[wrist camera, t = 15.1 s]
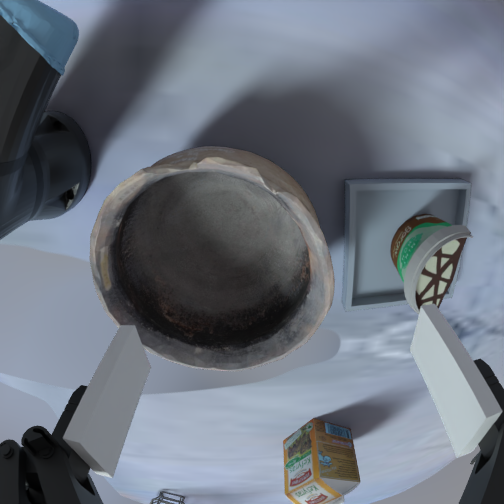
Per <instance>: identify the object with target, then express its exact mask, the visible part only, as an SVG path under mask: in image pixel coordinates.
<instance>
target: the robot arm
mask: <svg viewBox="0 0 504 504" xmlns="http://www.w3.org/2000/svg"><path fill="white" fill-rule="evenodd" d="M78 37H79V30H78V27H77V25H76V23H75V22H74V21H73V20H71V19H70V18H68V17H67V16H65V15H63V14H62V13H60V12H58V11H57V10H55V9H53V8H51V7H49V6H48V5H46V4H44V3H42V2H40V1H38V0H0V240H1V239H2V238H4V237H5V236H7V235H8V234H9V233H11V232H12V231H14V230H15V229H17V228H18V227H20V226H21V225H23V224H24V223H26V222H28V221H32V220H43V219H52V218H56V217H59V216H61V215H63V214H64V213H66V212H67V211H69V210H71V209H72V208H73V207H75V206H76V205H77V204H78V202H79V201H80V200H81V199H82V197H83V195H84V193H85V191H86V189H87V186H88V183H89V179H90V173H91V157H90V151H89V146H88V143H87V140H86V138H85V136H84V134H83V132H82V130H81V129H80V127H79V126H78V125H77V123H76V122H75V121H74V120H73V119H71V118H70V117H69V116H67V115H65V114H63V113H60V112H56V111H47V112H44V111H45V109H46V107H47V104H48V102H49V100H50V98H51V95H52V93H53V91H54V89H55V87H56V85H57V83H58V81H59V79H60V77H61V75H63V74H64V72H65V69H64V68H65V65H66V63H67V61H68V59H69V57H70V55H71V53H72V51H73V49H74V47H75V45H76V43H77V41H78ZM410 351H411V353H412V355H413V357H414V360H415V362H416V364H417V366H418V368H419V370H420V372H421V374H422V376H423V379H424V381H425V383H426V385H427V387H428V390H429V392H430V394H431V396H432V399H433V401H434V403H435V405H436V408H437V410H438V412H439V415H440V417H441V420H442V422H443V424H444V427H445V429H446V432H447V434H448V437H449V439H450V442H451V445H452V447H453V450H454V452H455V455H456V458H458V457H461V456H463V455H466V454H469V453H471V452H473V450H474V449H475V448H476V447H477V445H479V447H480V449H481V450H480V452H479V453H478V454H477V455H476V456H475V457H474V459H473V460H472V461H471V463H470V464H473V463H474V462H475V461H476V462H475V465H474V468H473V470H472V473H471V475H470V478H469V480H468V483H467V485H466V488H465V490H464V493H463V495H462V497H461V499H460V502H459V504H504V389H503V387H502V386H501V384H500V383H499V381H498V379H497V377H496V376H495V374H494V373H493V371H492V369H491V368H490V366H489V365H488V364H486V363H485V362H484V361H483V360H481V359H478V360H474V361H473V360H472V358H471V357H470V355H469V353H468V352H467V350H466V349H465V347H464V346H463V344H462V343H461V341H460V340H459V338H458V337H457V335H456V334H455V332H454V331H453V329H452V328H451V326H450V325H449V323H448V322H447V320H446V319H445V318H444V316H443V315H442V313H441V312H440V310H439V309H438V308H437V306H436V305H435V304H429V305H423V306H421V308H420V312H419V317H418V321H417V325H416V329H415V333H414V337H413V341H412V344H411V348H410ZM150 369H151V365H150V363H149V361H148V358H147V356H146V353H145V351H144V348H143V345H142V343H141V340H140V337H139V335H138V332H137V329H136V327H135V325H121V326H120V328H119V329H118V331H117V333H116V335H115V337H114V338H113V340H112V342H111V344H110V346H109V347H108V349H107V351H106V353H105V355H104V357H103V359H102V360H101V362H100V364H99V366H98V368H97V370H96V372H95V374H94V375H93V377H92V380H91V381H90V383H89V385H88V386H83V385H81V386H80V387H79V388H78V389H77V390H76V391H75V392H73V394H72V396H71V398H70V400H69V401H68V404H67V405H66V407H65V409H64V410H65V411H63V413H62V415H61V417H60V419H59V421H58V423H57V425H56V427H55V429H54V431H53V433H52V435H51V434H50V433H49V432H48V431H47V429H45V428H44V427H42V426H34V427H31V428H29V429H28V430H27V431H26V432H25V433H24V434H23V437H22V445H23V446H24V447H20V446H19V445H18V443H17V442H15V441H14V440H5V441H3V442H2V443H1V444H0V504H103V502H102V500H101V498H100V496H99V494H98V492H97V490H96V487H95V485H94V483H93V481H92V479H91V477H90V475H89V474H88V473H89V470H90V468H91V469H92V470H93V471H94V472H95V473H96V474H98V475H102V476H106V477H110V478H113V476H114V473H115V470H116V467H117V463H118V460H119V457H120V454H121V451H122V448H123V445H124V442H125V439H126V436H127V433H128V430H129V427H130V425H131V422H132V419H133V416H134V413H135V410H136V407H137V405H138V402H139V399H140V396H141V394H142V391H143V388H144V385H145V383H146V380H147V377H148V374H149V372H150Z"/></svg>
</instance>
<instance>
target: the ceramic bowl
mask: <svg viewBox="0 0 504 504" xmlns="http://www.w3.org/2000/svg"><path fill="white" fill-rule="evenodd" d="M90 264H91V269H92V274H93V282H94V285H95V289H96V292H97V295H98V297H99V299H100V301H101V304H102V306H103V308H104V310H105V312H106V313H107V315H108V316H109V317H110V318H111V319H112V320H113V322H114V323H115V324H116V325H117V326H118V328H120V326H121V325H135V327H136V329H137V332H138V335H139V337H140V340H141V343H142V345H143V348H144V349H145V350H147V351H149V352H150V353H152V354H154V355H157V356H159V357H161V358H164V359H165V360H168V361H171V362H174V363H176V364H180V365H183V366H187V367H191V368H198V369H207V370H208V369H209V370H219V371H241V370H247V369H252V368H256V367H260V366H263V365H265V364H268V363H271V362H274V361H277V360H280V359H283V358H284V357H286V356H287V355H288V354H290V353H291V352H292V351H294V350H296V349H298V348H299V347H301V346H302V345H304V344H305V343H307V342H308V340H309V339H310V338H311V337H312V335H313V334H314V333H315V332H316V330H317V329H318V327H319V326H320V324H321V323H322V321H323V319H324V318H325V316H326V314H327V313H328V311H329V310H330V307H331V305H332V301H333V296H334V272H333V266H332V261H331V256H330V253H329V249H328V246H327V243H326V240H325V237H324V235H323V232H322V231H321V229H320V225H319V221H318V218H317V215H316V212H315V210H314V207H313V205H312V203H311V201H310V200H309V198H308V196H307V195H306V193H305V192H304V190H303V189H302V187H301V186H300V185H299V184H298V183H297V182H296V181H295V180H294V179H293V178H292V177H291V176H290V175H289V174H288V173H287V172H285V171H284V170H283V169H282V168H280V167H279V166H277V165H276V164H274V163H273V162H271V161H270V160H268V159H265V158H263V157H261V156H259V155H256V154H254V153H251V152H249V151H244V150H239V149H234V148H228V147H216V146H202V147H197V148H192V149H187V150H184V151H181V152H177V153H174V154H172V155H169V156H167V157H165V158H163V159H161V160H159V161H157V162H156V163H154V164H153V165H152V166H151V167H147V168H144V169H141V170H140V171H138V172H137V173H135V174H134V175H132V176H131V177H130V178H128V179H127V180H125V181H123V182H122V183H120V184H119V185H118V186H117V187H116V188H115V189H114V190H113V191H112V192H111V194H110V195H109V196H108V197H107V198H106V199H105V201H104V203H103V205H102V207H101V209H100V211H99V214H98V217H97V219H96V222H95V225H94V227H93V230H92V233H91V236H90Z"/></svg>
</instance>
